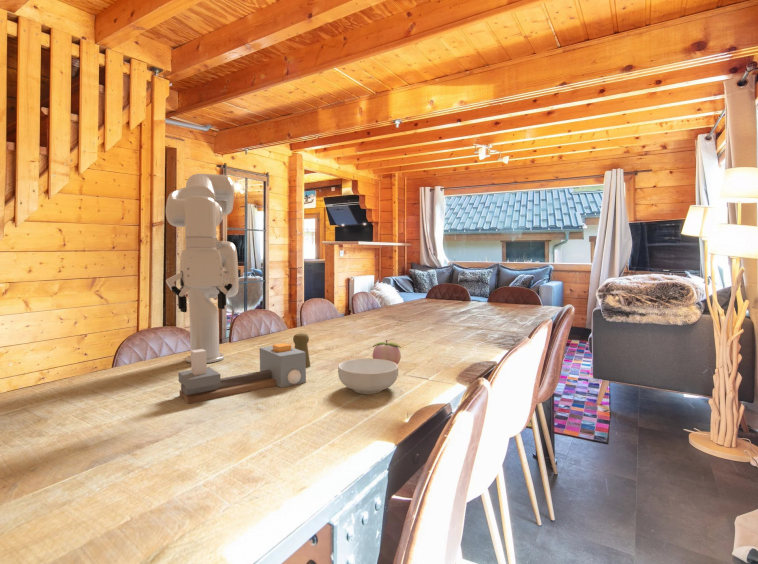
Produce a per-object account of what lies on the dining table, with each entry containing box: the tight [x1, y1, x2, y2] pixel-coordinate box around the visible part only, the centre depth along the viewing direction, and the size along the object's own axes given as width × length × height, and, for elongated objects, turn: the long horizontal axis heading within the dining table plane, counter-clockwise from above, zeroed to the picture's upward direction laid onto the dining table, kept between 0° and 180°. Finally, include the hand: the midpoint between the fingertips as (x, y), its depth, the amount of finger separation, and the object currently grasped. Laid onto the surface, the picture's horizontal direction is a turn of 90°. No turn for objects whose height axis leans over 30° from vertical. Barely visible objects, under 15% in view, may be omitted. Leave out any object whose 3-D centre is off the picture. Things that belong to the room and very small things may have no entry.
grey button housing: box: [259, 345, 307, 389], centre depth 129 cm, size 15×8×9 cm, turn 40°
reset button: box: [272, 342, 292, 353], centre depth 129 cm, size 4×4×4 cm
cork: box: [292, 332, 311, 369], centre depth 144 cm, size 6×6×11 cm
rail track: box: [179, 370, 277, 405], centre depth 119 cm, size 8×24×4 cm, turn 130°
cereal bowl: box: [337, 358, 399, 395], centre depth 119 cm, size 17×17×7 cm
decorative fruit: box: [372, 339, 402, 365], centre depth 139 cm, size 9×8×10 cm
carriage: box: [178, 349, 221, 395], centre depth 113 cm, size 9×8×10 cm
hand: (203, 310), depth 113 cm, fingers open, 9 cm apart
